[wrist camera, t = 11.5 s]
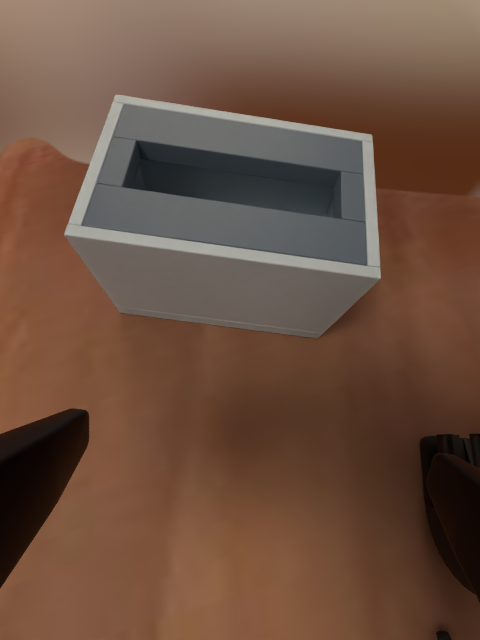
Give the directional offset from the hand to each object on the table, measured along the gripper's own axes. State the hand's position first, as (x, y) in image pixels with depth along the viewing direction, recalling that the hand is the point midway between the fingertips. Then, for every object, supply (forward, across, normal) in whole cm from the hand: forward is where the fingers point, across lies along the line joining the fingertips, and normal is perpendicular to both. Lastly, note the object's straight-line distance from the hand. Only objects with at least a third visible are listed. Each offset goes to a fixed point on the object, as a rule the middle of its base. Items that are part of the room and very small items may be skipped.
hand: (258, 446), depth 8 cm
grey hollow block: (+11, +2, -2) cm, 11 cm away
